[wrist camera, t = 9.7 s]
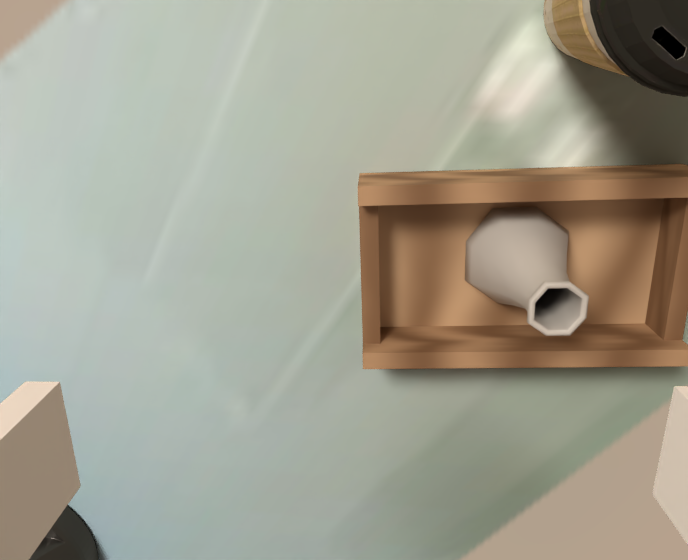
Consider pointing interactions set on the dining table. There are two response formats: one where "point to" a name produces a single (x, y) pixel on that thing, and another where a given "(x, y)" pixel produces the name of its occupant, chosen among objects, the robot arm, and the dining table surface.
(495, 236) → the flask
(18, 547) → the robot arm
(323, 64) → the dining table surface
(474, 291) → the wooden tray
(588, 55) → the coffee cup
